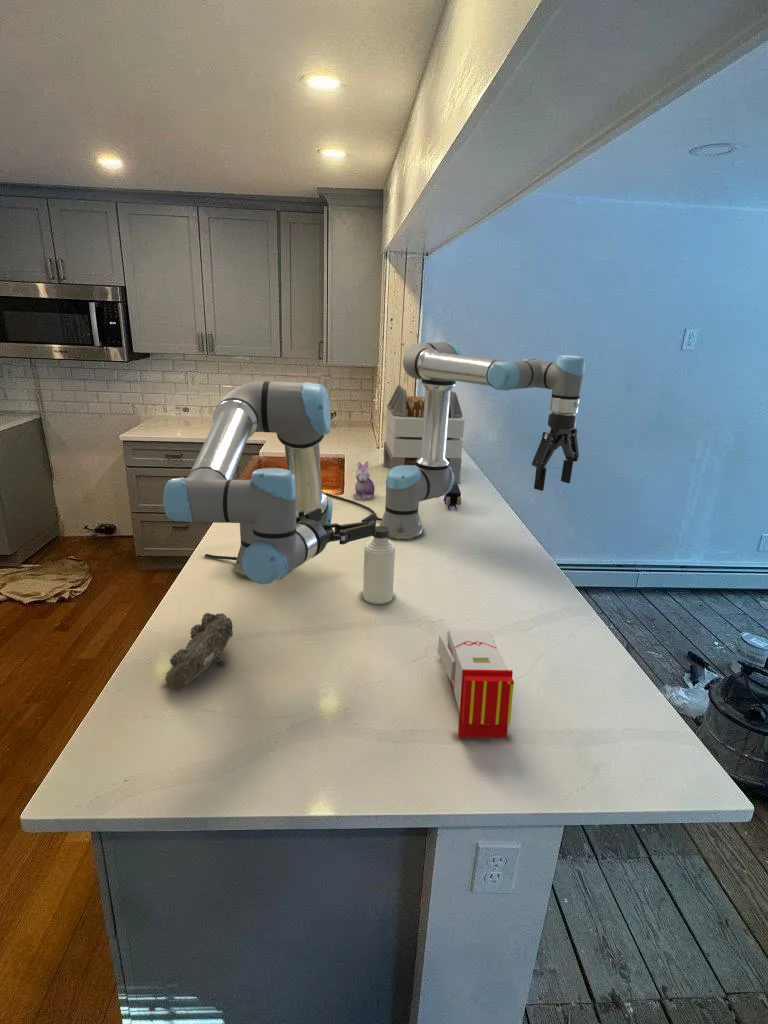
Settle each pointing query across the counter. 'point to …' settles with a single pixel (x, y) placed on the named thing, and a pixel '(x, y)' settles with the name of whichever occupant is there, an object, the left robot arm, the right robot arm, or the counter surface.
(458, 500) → the figurine character
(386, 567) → the bottle
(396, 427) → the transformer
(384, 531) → the cap
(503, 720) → the toy
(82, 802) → the counter surface
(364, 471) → the figurine
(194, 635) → the fossil
